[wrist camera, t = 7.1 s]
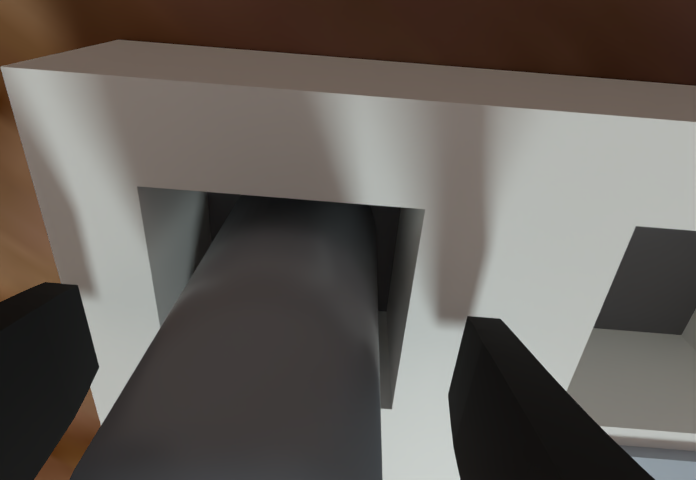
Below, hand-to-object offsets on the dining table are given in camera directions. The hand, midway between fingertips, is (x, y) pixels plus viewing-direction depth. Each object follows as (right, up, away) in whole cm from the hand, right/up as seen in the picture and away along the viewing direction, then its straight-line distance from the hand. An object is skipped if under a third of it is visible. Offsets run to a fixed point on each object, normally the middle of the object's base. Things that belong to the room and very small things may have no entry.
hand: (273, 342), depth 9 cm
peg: (0, +2, +4) cm, 5 cm away
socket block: (+5, +1, +5) cm, 7 cm away
